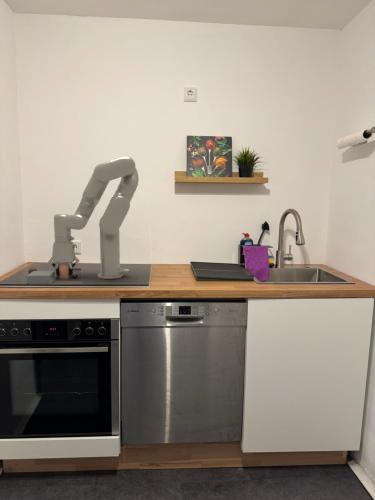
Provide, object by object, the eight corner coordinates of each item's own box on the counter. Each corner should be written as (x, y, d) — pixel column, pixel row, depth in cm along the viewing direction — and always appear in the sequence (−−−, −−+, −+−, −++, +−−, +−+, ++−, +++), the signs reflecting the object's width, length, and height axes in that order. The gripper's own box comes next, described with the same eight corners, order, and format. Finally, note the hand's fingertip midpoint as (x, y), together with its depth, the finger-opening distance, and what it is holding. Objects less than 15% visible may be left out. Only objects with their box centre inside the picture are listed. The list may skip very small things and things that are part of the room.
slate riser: (55, 278, 170) (54, 270, 170) (50, 284, 161) (49, 275, 160) (33, 279, 169) (33, 271, 168) (27, 284, 159) (26, 275, 159)
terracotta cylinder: (70, 276, 176) (70, 262, 175) (68, 278, 171) (68, 264, 170) (60, 276, 175) (59, 262, 174) (58, 279, 170) (57, 264, 169)
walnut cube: (37, 275, 177) (37, 267, 177) (37, 277, 174) (37, 269, 173) (28, 275, 176) (28, 268, 175) (28, 277, 172) (28, 269, 171)
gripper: (82, 238, 175) (83, 274, 178) (46, 238, 172) (48, 274, 175) (79, 240, 167) (81, 277, 170) (42, 240, 165) (44, 278, 168)
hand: (64, 275), depth 173 cm, fingers closed on terracotta cylinder, 5 cm apart
